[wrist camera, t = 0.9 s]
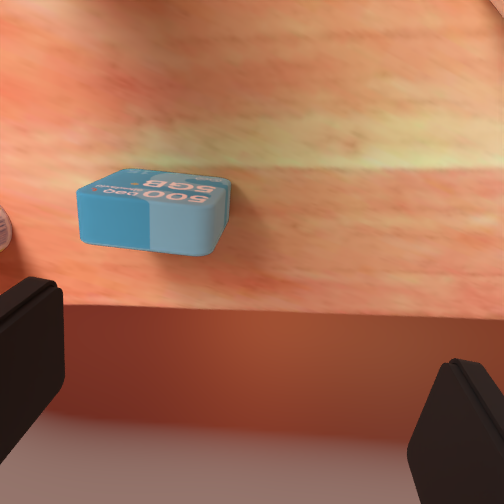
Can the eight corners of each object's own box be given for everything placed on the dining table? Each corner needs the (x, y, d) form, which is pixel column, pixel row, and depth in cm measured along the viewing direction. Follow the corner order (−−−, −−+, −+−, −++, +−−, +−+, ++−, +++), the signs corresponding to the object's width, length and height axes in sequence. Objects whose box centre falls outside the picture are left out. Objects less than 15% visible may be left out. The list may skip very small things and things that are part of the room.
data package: (233, 178, 43) (212, 207, 32) (230, 218, 45) (210, 259, 34) (125, 167, 44) (68, 192, 33) (126, 206, 45) (72, 243, 34)
